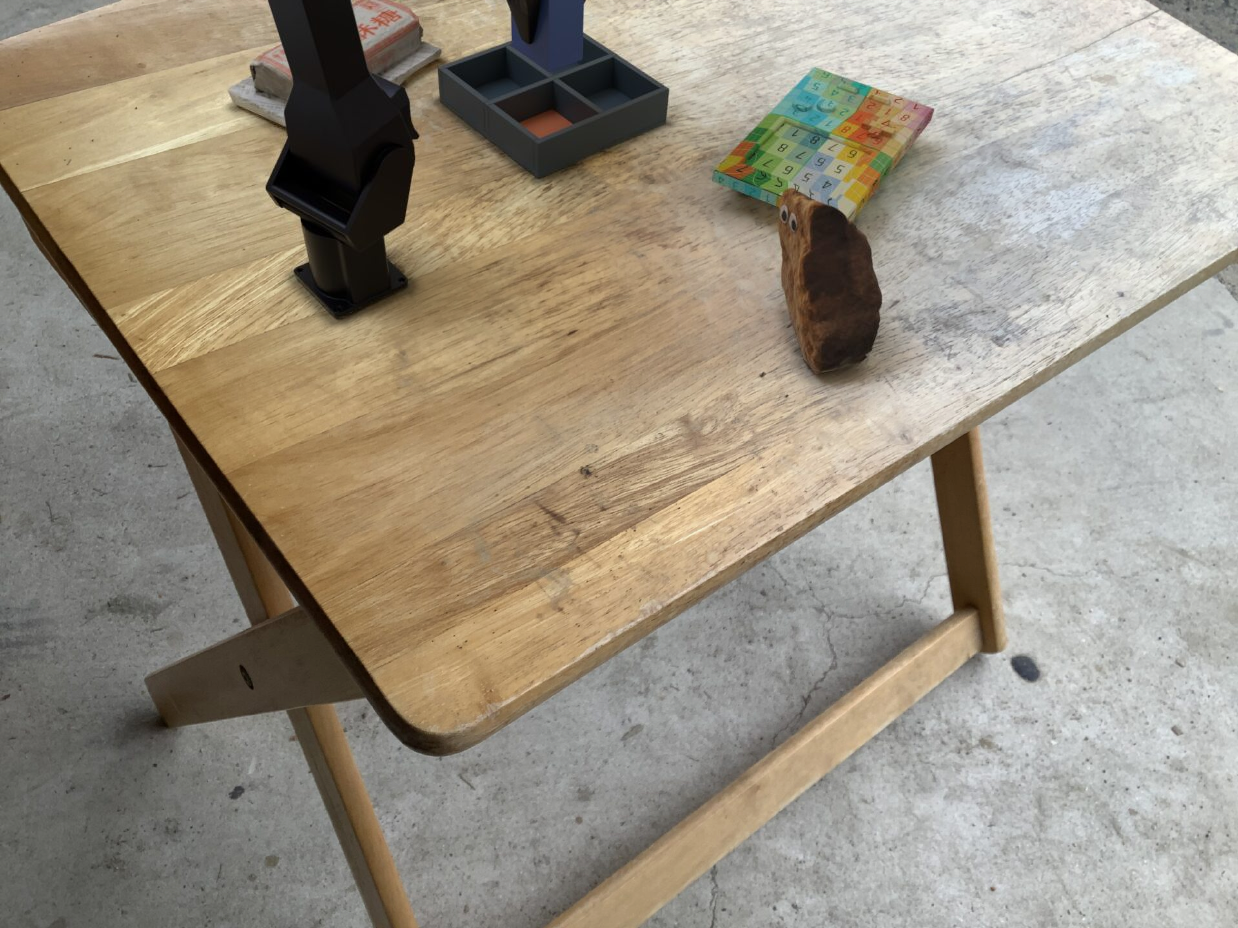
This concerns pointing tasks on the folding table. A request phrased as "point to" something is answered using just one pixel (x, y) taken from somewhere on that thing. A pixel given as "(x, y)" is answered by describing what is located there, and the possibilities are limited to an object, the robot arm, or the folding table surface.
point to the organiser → (552, 103)
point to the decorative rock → (827, 283)
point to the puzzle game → (825, 143)
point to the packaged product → (386, 48)
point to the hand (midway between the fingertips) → (546, 35)
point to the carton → (554, 35)
